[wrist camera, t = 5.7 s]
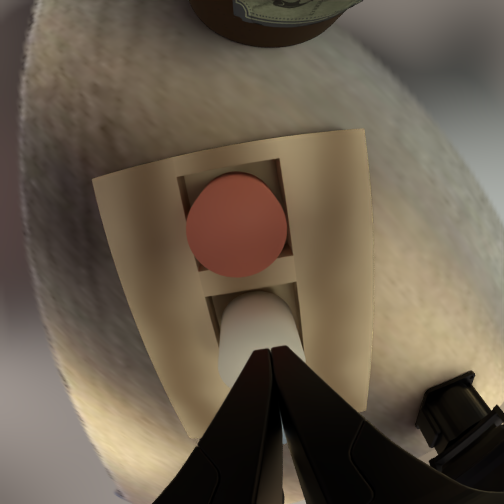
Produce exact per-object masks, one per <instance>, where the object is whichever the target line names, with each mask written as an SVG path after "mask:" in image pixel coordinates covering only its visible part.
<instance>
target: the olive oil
mask: <svg viewBox="0 0 504 504" xmlns="http://www.w3.org/2000/svg"><path fill="white" fill-rule="evenodd" d="M361 1H363V0H189V2H190V4H191V6H192V8H193V10H194V11H195V13H196V14H197V16H198V17H199V18H200V19H201V20H202V21H203V22H204V23H205V24H206V25H207V26H208V27H209V28H211V29H212V30H213V31H215V32H216V33H218V34H220V35H222V36H224V37H226V38H228V39H230V40H233V41H236V42H239V43H242V44H246V45H251V46H258V47H284V46H290V45H295V44H299V43H302V42H305V41H308V40H310V39H312V38H314V37H316V36H318V35H319V34H321V33H322V32H324V31H325V30H326V29H327V28H329V27H330V26H331V25H332V24H333V23H334V22H335V21H336V20H337V19H338V18H339V17H340V16H341V15H342V14H343V13H344V12H345V11H346V10H347V9H349V8H351V7H353V6H354V5H356V4H358V3H359V2H361Z"/></svg>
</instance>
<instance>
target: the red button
mask: <svg viewBox="0 0 504 504" xmlns="http://www.w3.org/2000/svg"><path fill="white" fill-rule="evenodd" d="M186 235H187V241H188V244H189V247H190V249H191V251H192V253H193V254H194V256H195V257H196V259H197V260H198V261H199V262H200V263H201V264H202V265H203V266H204V267H206V268H207V269H209V270H210V271H212V272H214V273H216V274H219V275H222V276H226V277H237V278H239V277H247V276H251V275H254V274H257V273H259V272H261V271H263V270H264V269H266V268H267V267H269V266H270V265H271V264H272V263H273V262H274V261H275V260H276V259H277V257H278V256H279V254H280V253H281V251H282V249H283V247H284V244H285V241H286V236H287V222H286V217H285V214H284V211H283V209H282V207H281V205H280V203H279V202H278V200H277V199H276V197H275V196H274V194H273V193H272V191H271V190H270V189H269V187H268V186H267V185H266V184H265V183H264V182H263V181H262V180H261V179H260V178H258V177H256V176H255V175H252V174H250V173H246V172H240V171H234V172H228V173H224V174H222V175H219V176H218V177H216V178H214V179H213V180H212V181H210V182H209V183H208V184H207V186H206V187H205V188H204V190H203V191H202V192H201V194H200V195H199V196H198V198H197V199H196V201H195V202H194V204H193V205H192V207H191V209H190V211H189V214H188V218H187V222H186Z"/></svg>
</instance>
